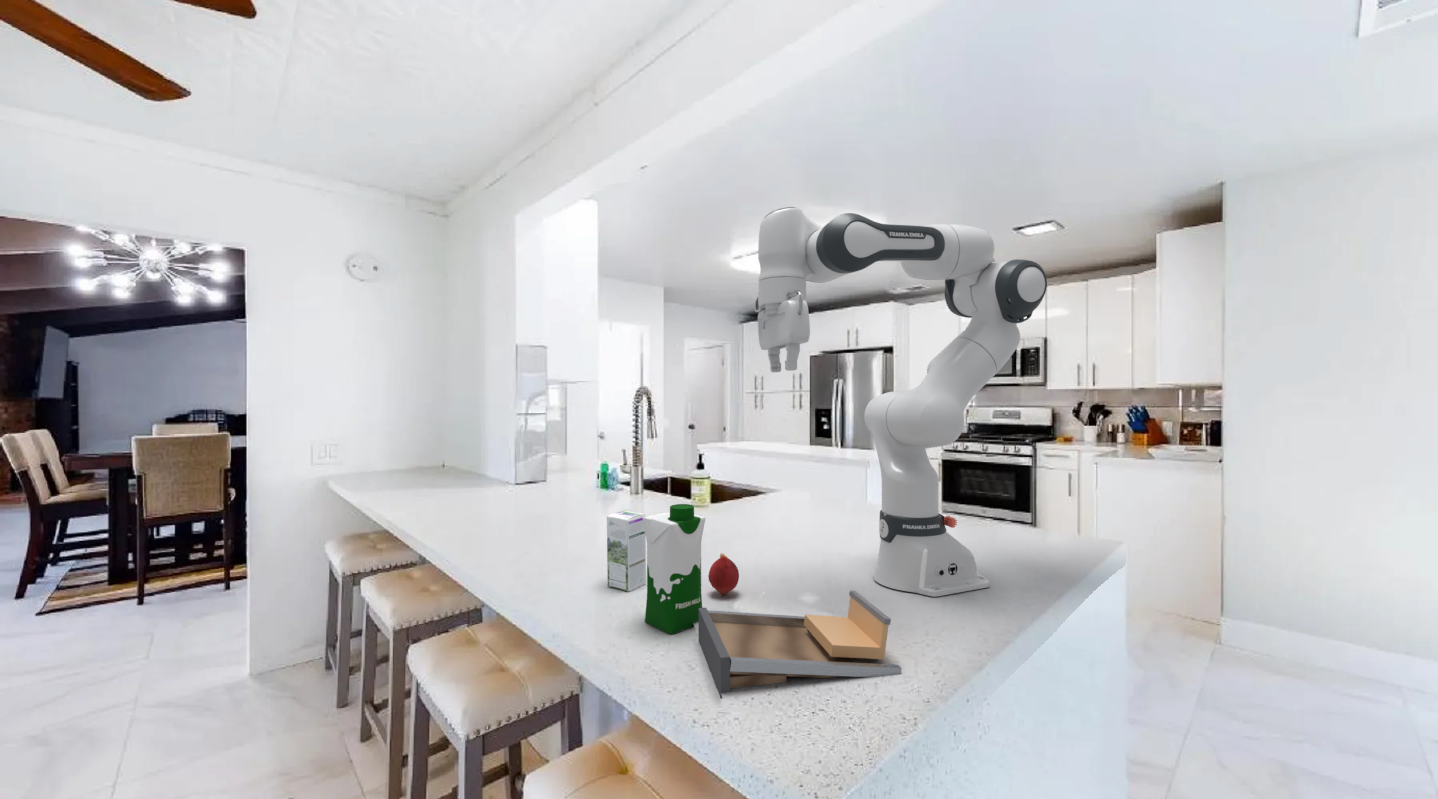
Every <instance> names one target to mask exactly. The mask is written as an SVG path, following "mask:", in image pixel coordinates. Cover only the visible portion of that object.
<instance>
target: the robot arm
mask: <svg viewBox="0 0 1438 799" xmlns="http://www.w3.org/2000/svg"><path fill="white" fill-rule="evenodd" d="M758 232H759V233H758V251H757V253H758V263H759V265H760V273H759V276H758V292H757V298H756V300H755V302H754V311H755V312H756V313H758V314H757V331H758V332H757V334H758V343H759V346H760V349H761V350H762V351H767V356H768V360H769V364H770V366H769V367H770V368H769V370H770V372H771V373H780V372H782V363H781V360H780V359H781V357H780V355H781V350H782V349H785V351H786V358H785V359H786V360H784V365H785V366H784V369H785V371H788V372H789V371H790V372H791V371H796V370H798V359H799V355H800V351H801V347H800V346H801V345H802V344H806V343H808V342H809V340H810V335H811V326H810V313H809V306H808V303H807V282H811V283H815V284H816V283H817V284H825V283H829V282H832V281H834V280H836V279H840V278H841V277H844V276H846V275H848V274H851V273H856V272H859V271H862V270H864V269H867V268H868V267H869V266H871V265H873V264H875V263H877V262H900V265H901V267H902V269H903V271H904V272H905V274H906V275H907V276H908V277H909V278H913V279H916V280H922V281H923V280H924V281H943V280H944V284H945V286H944V299H945V303H946V305H947V307H948V309H949V311H950V312H951V313H952V314H954V315H956V316H958V317H963V318H966V319H967V318H968V319H970V322H969V323H968V325H967V326H966V327H965V329H964V330H963V331H961V333H959V334H958V335H957V336H956V337H955V338H953V340H952V341H951V342H950V343H948V345H946V346H945V347H944V348H943V349H942V350H941V351H940V352H939V353H938V354H937V355H936V356H935V357H934V358H932V359H931V361H930V362H928V364H927V367H926V368H927V369H926V375H925V377H924V379H923V380H922V382H921V383H920V384H919V385H918V386H916V387H915V388H914V389H911V390H908V391H888V392H885V393H882V394H880V395H876V396H875V397H874V398H872V399H871V400H870V401H869V402H868V404H867V405H866V406H865V407H866V408H865V410H864V415H863V416H864V417H863V418H864V424H865V425H866V428H867V429H868V431H869V433H870V434H871V436H872V439H873V442H874V446H875V449H876V453H877V458H878V463H879V467H880V474H881V475H880V477H881V510H880V511H879V521H878V522H879V526H878V528H879V530H878V531H879V538H880V542H879V552H878V558H877V561H876V565H875V566H876V567H875V570H874V573H873V576H872V577H873V578H872V579H873V580H874V581H875V582H877V583H878V584H880V585H881V586H884V587H887V588H890V589H892V590H893V589H894V590H897V591H902V592H909V593H916V594H920V595H924V596H929V597H933V598H934V597H935V598H936V597H942V596H947V595H952V594H953V595H954V594H959V593H964V592H969V591H973V590H981V589H985V588H986V589H987V588H989V587H990V581H989V579H988V578H987V577H986V576H984V575H983V574H981V573H980V572H978V571H977V564H976V560H975V556H974V554H973V553H972V551H971V550H970V549H969V548H967V546H965V545H963V544H962V543H961V542H960V541H959V540H957V539H956V538H955V537H954V536H952V535H951V534H950V533H948V532H947V531H948V529H947V528H946V527H949V528H951V529H953V528H955V527H956V526H957V525H958V520H957V519H956V518H955V517H951V516H949V515H948V516H944V515H943V514H941V513H940V512H939V488H940V486H939V475H938V473H937V471H936V469H935V468H934V466H933V465H932V463H931V461H930V459H929V457H928V453H927V450H926V449H931V448H932V449H933V448H939V447H944V446H947V445H948V446H949V445H950V444H951V445H952V444H953V443H954V442H955V441H957V440H958V439H959V437H960V436H961V434H962V432H963V430H964V426H965V413H964V412H965V410H966V408H967V406H968V405H969V403H970V402H971V401H972V399H973V397H975V395H977V393H978V392H979V391H980V390H981V389H983V387H984V386H985V385H986V384H988V382H990V381H991V379H993V377H994V376H995V375H996V374H997V373H998V372H999V371H1001V369H1002V368H1003V367H1004V366H1005V365H1006V363H1007V362H1008V361H1009V360H1010V359H1011V358H1012V356H1013V354H1014V353H1015V352H1016V350H1017V348H1018V347H1019V345H1020V341H1021V333H1020V329H1019V328H1018V326H1017V324H1021V323H1024V322H1026V321H1027V320H1029V319H1031V317H1032V316H1033V315H1032V314H1033V312H1034V311H1035V310H1036V309H1037V308H1038V306H1039V305H1041V303H1042V301H1043V299H1044V297H1045V295H1046V292H1047V288H1048V280H1047V276H1046V273H1045V270H1044V268H1043V266H1041V265H1040V264H1038V263H1037V262H1036V261H1033V260H1029V259H1012V260H1009V261H999V262H998V261H997V262H996V260H995V258H994V255H995V243H994V240H993V237H992V235H991V234H990V233H989V232H988V231H986V230H985V229H983V228H980V227H977V226H971V225H966V224H960V223H959V224H957V223H933V224H925V225H908V224H889V223H881V222H877V221H874V220H873V219H872V220H871V219H870V218H868V217H866V216H863V215H860V214H858V213H852V212H847V213H842V214H839V215H836V216H834V217H833V218H832V219H831V220H829V221H828V223H826V224H824V226H821V225H819V224H817V223H816V222H814V221H813V220H811V219H810V218H809V217H807V216H806V214H805V213H804V212H803V210H802V209H801V208H800V207H795V206H788V207H787V206H786V207H782V208H778V209H775V210H773V211H770V212H769V213H767V215H765V216H764V217H763V219H761V221H760V225H759V231H758ZM1025 317H1026V318H1025Z"/></svg>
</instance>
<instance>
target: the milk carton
mask: <svg viewBox="0 0 1438 799" xmlns="http://www.w3.org/2000/svg"><path fill="white" fill-rule="evenodd" d="M642 519H643V524H644V529H645V534H646V588H647V589H646V592H647V593H646V603H645V617H644V623H646V624H648V625H650V626H652V627H655V628H656V629H659V630H661V631H663V632H665V633H667V634H669V635H670V636H671V635H674V634H677V633H680V632H682V631H685V630H688V629H690V628H693V627H694V626H695V623H697V622H698V608H703V600H702V599H703V597H702V539H703V534H704V533H703V532H704V528H705V524H706V517H705V516H702V515H698V514H695V506H694V505H693V504H689V503H688V504H687V503H677V504H672V505H670V506H669V511H668V512H662V513H656V514H651V515H647V516H646V515H645V517H642Z"/></svg>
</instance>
